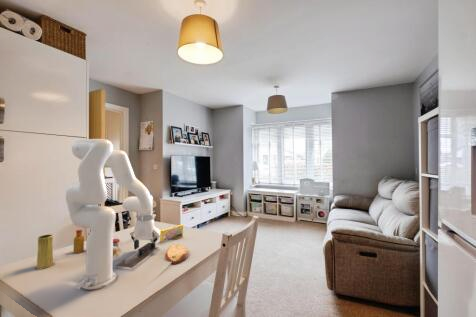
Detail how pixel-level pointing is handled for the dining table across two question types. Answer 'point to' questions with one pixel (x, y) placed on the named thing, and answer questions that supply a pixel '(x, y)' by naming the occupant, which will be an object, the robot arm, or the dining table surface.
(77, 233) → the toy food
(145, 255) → the board
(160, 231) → the flower in vase
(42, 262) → the vase
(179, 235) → the candy box
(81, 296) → the dining table surface
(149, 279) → the dining table surface
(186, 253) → the slice of bread
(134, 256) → the knife
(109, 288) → the dining table surface
